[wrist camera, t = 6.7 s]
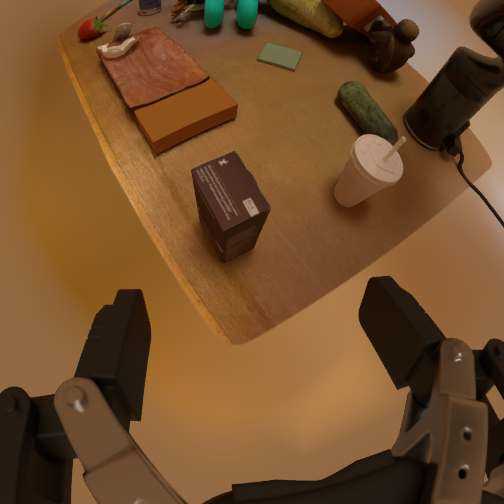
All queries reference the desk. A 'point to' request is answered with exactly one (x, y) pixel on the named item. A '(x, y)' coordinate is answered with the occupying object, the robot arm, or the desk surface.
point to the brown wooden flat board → (167, 89)
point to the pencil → (115, 9)
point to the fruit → (91, 28)
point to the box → (229, 205)
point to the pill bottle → (149, 6)
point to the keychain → (122, 31)
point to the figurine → (185, 1)
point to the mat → (280, 56)
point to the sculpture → (390, 45)
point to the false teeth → (117, 48)
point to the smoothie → (369, 169)
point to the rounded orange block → (360, 13)
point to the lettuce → (310, 15)
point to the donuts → (245, 13)
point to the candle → (195, 7)
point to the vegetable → (366, 111)
